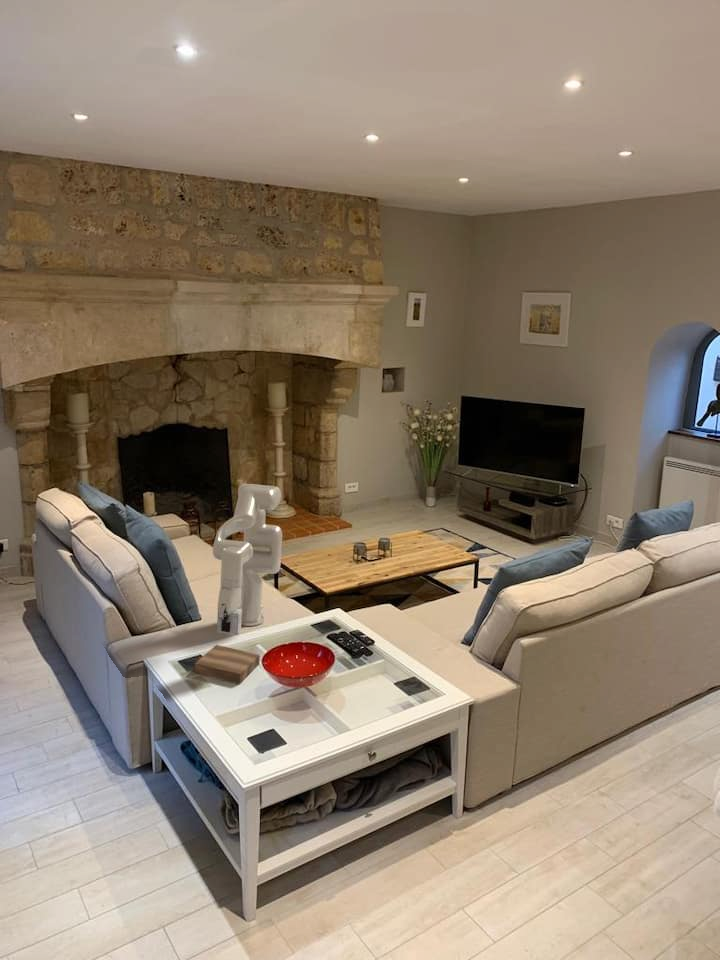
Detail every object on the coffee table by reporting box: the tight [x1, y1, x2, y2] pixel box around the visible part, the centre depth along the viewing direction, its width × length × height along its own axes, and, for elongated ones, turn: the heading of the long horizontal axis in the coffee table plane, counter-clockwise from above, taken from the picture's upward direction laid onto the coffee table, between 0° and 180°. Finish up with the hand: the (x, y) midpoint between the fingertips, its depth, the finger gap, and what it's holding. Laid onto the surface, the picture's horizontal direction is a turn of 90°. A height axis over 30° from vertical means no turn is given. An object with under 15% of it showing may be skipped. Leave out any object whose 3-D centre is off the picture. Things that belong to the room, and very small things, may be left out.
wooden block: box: [194, 644, 260, 685], centre depth 266 cm, size 16×18×4 cm
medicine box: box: [216, 609, 242, 636], centre depth 262 cm, size 8×4×9 cm, turn 84°
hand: (229, 627), depth 263 cm, fingers closed on medicine box, 5 cm apart
